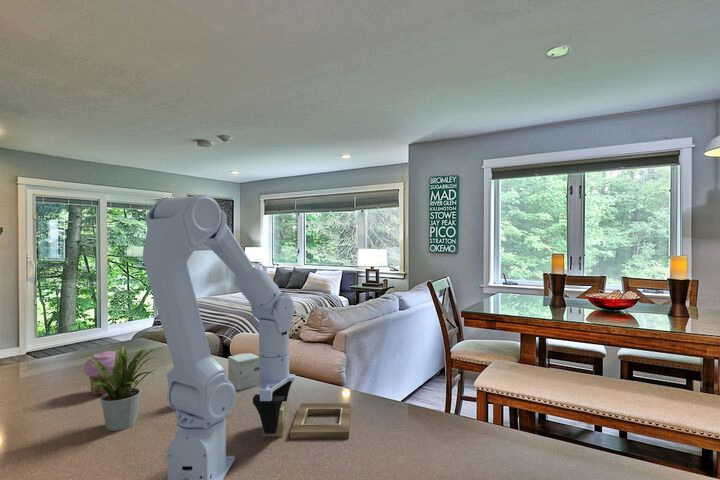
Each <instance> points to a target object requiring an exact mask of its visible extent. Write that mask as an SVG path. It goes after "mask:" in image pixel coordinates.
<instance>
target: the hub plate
mask: <svg viewBox="0 0 720 480" xmlns="http://www.w3.org/2000/svg"><path fill="white" fill-rule="evenodd" d="M351 411H352V403H351V402H333V403H332V402H330V403H329V402H327V403H326V402H324V403H323V402H322V403H320V402H319V403H316V402H315V403H311V402H310V403H309V402H308V403H302V402H301V403H300V405H299V407H298V410H297V412H296V415H295V417H294V421H293V423H292V426H291V429H290V430H289V438H290V439H350V428H351ZM318 415H319V416H323V415H324V416H328V415H329V416H331V415H332V416H333V415H337V416H338V415H339V422H338V423H306V422H307V421H308V417H309V416H318Z"/></svg>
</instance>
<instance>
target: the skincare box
mask: <svg viewBox="0 0 720 480" xmlns="http://www.w3.org/2000/svg"><path fill="white" fill-rule="evenodd" d="M227 366H228V367H227V368H228V369H227V370H228V371H227V373H228V374H227V375H228V376H227V378H228V380H229V381H230V382H232V383H233V385H234V387H235V390H237V391H242V390H245V389H248V388H253V387H257V386H259V382H258V377H259V355H256V354H253V353H252V352H245V353H238V354H235V355H230V356H228V357H227Z"/></svg>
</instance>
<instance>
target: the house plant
mask: <svg viewBox="0 0 720 480" xmlns="http://www.w3.org/2000/svg"><path fill="white" fill-rule="evenodd" d="M121 347H122V349H121V348H120V347H117V348H116V347H115V346H113V345H112V348H113V349H114V351H115V352H116V356H115V365H114V367H113V370H112V372H113V377H114V379H113V378H112V377H111V375H110V374H109V372H108V371H107V369H106V368H105V367H104V365H103V364H102V363H100V362H99V361H98V360H96V359H94V358H92V356H86V355H84V357H85V358H88V360H89V359H91V360H92V361H93V362H94V363H95V364H96V365H97V366H98V367H99V368H100V369H99V368H98V367H97V366H95V365H93V366H95V367H96V368H98V369H99V370H100V371H101V372H103V374H104V375H105V376H106V377H107V378H108V380H109V381H110V383H111V384H112V385H113V387H114V388H115V390H114V389H113V388H112V386H111V385H110V384H109V383H108V382H107V380H106V379H105V378H104V377H103V376H102V375H101V374H100V373H98V372H97V373H98V375H99V379H100V380H101V381H102V382H103V383H102V382H100V381H93V382H91V381H90V382H89V383H90V385H91V384H93V386H92V387H95V386H99V387H101V388H103V389H104V390H105V391H106V392H107V393H106V394H101V397H100V403H101V408H102V413H103V417H104V422H105V427H106V429H107V431H113V432H119V431H123V430H126V429H129V428H131V427H133V426H135V425H136V424H137V419H138V412H139V406H140V400H141V395H142V394H141V393H142V390H141V389H140V388H137V385H138V384H140V382H142V380H143V379H144V378H146V377H147V376H148V375H149V374H152V375H154V373H153V372H155V371H156V370H158V371H159V368H157V369H156V368H155V369H152V370H150V371H142V372H140V373H138V371H139V370H140V368H141V367H142V366H143V365H144V364H145V363H146V362H148V361H149V360H151V359H155V358H157V357H149V358H148V359H146V360H144V361H143V362H142V363H140V362H141V361H142V360H143V359H144V358H145V357H146V356H147V355H149V354H150V353H152V352H154V351H157V350H160V349H161V350H162V349H163V347H160V348H155V349H151V350H148V351H146V349H147V348H148V347H149V344H147V345H145V346H143V347H142V348H140V349H139V351H137V353H136V354H135V356H132V357H130V358H128V352H127V349H126V346H125V345H124V343H123V342H122V343H121ZM145 352H146V353H145ZM130 360H131V361H130ZM128 361H130V362H129V363H128ZM91 365H92V364H91ZM137 367H138V368H137ZM136 373H138V374H136ZM142 375H144V376H142ZM140 376H142V377H141V379H139V380H138V378H139V377H140ZM92 387H91V386H90V389H91V388H92Z"/></svg>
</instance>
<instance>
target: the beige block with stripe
mask: <svg viewBox="0 0 720 480" xmlns="http://www.w3.org/2000/svg"><path fill="white" fill-rule="evenodd" d="M287 427H288V400H287V401H284V402H282V405H281V408H280V413H279V420H278V427H277V431H276V434H265V433H264V430H263V426H262V425H261V437H284V436H285V433H286V431H287Z"/></svg>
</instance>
